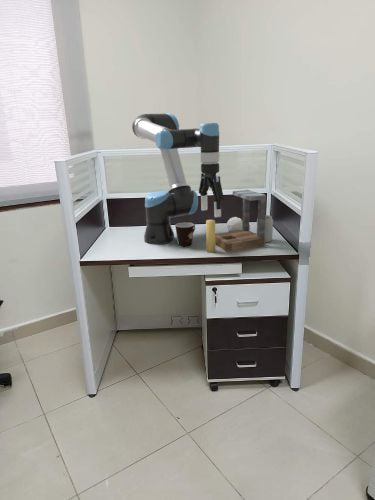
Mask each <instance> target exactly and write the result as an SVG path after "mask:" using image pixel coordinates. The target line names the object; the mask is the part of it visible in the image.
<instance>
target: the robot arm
mask: <svg viewBox="0 0 375 500" xmlns="http://www.w3.org/2000/svg"><path fill="white" fill-rule="evenodd" d="M179 123H180V122H179V120H178V119H177V117H176V116H175V115H174V114H172V113H166V112H163V113H143V114H140V115H138V116H137V117H136V118H134V120H133V122H132V125H131V128H132V132H133V134H134V136H135V137H138V138H140V139H143V140H146V139H147V140H149V141H151V142H153V143H155V145H156V146H157V149H159V150H160V154H161V157H162V162H163V165H164V169H165V173H166V178H167V180H168V184H169V189H168V190H167V191H166V190H161V191H159V190H158V191H154V192H150V193H148V194H147V195H146V196H145V197H144V198H145V199H144V207H145V220H146V227H145V231H144V234H143V235H144V236H143V239H144V242H146V243H147V244H153V245H160V244H167V243H171V242H172V241H174V240H175V233H174V230H173V228H172V225H171V218H177V217H183V216H188V215H192V214H195V213H196V211H197V210H198V205H199V196H198V194H200V204H201V205H200V206H201V208H200V210H201V211H202V212H204V211H208V209H209V208H208V207H209V206H208V190H209V188H210V189H211V192H212V195H213V197H214V201H213V205H214V206H213V208H214V209H213V213H214V215H213V217H214V218H221V217H222V202H223V201H224V200H225V197H224V193H223V188H222V183H221V176H220V175H218V176H217V174H218V173H220V164H219V162H220V156H221V154H220V128H219V127H220V126H219V124H218V123H217V122H211V123H210V122H208V123H207V122H203V123H200V126H199V128H185V129H180V124H179ZM189 148H190V149H191V148H192V149H193V148H200V162H201V164H200V172H201V173H200V181H199V182H200V183H199V189H198V193H197V192H196V191H195V190H192V188H191V186H190V185H189V184H188V183H187V181H186V177H185V173H184V169H183V165H182V162H181V158H180V154H179V150H178V149H189Z"/></svg>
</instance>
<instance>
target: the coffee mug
mask: <svg viewBox="0 0 375 500" xmlns="http://www.w3.org/2000/svg"><path fill="white" fill-rule="evenodd" d="M174 226H175V232H176V238H177V244H178V247H180V248H190V247H192V246H193V239H194V238H193V237H194V232H195V230H196V225H195V224H194V223H192V222H185V221H184V222H178V223H176V224H175V225H174Z"/></svg>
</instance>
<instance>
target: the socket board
mask: <svg viewBox="0 0 375 500" xmlns="http://www.w3.org/2000/svg"><path fill="white" fill-rule="evenodd" d="M232 196H235V197H238V198H240V199H242V230H237V231H231V232H229V231H225V232H218V233H215V246H217V247H218V248H220V249H222V251H224V252H225V253H233V252H234V253H235V252H238V251H239V252H240V251H243V250H244V251H245V250H251V249H255V248H261V247H265V243H264V238H265V215H267V211H266V209H267V195H266V194H264V193H260V192H257V191H253V190H250V189H242V190H240V189H239V190H233V191H232ZM251 201H258V202H257V203H258V205H257V219H258V226H257V225H256V231H257V234H256V233H255V232H253V231H252V230H249V225H250V215H251V213H250V210H251V209H250V208H251V207H250V206H251V205H250V204H251Z"/></svg>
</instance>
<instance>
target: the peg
mask: <svg viewBox="0 0 375 500" xmlns="http://www.w3.org/2000/svg"><path fill="white" fill-rule="evenodd" d="M205 229H206V230H205V234H206V235H205V236H206V253H208V254H209V253H210V254H211V253H215V252H216V245H215V234H216V220H215V219H207V220H206V221H205Z"/></svg>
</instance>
